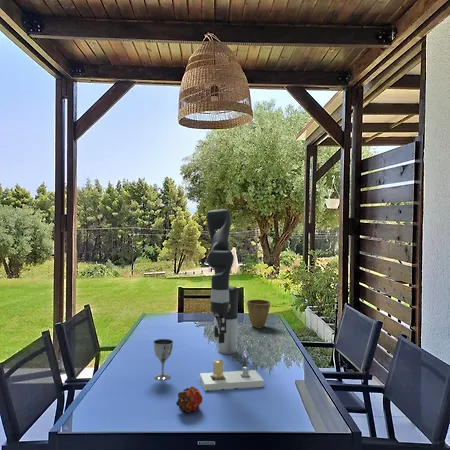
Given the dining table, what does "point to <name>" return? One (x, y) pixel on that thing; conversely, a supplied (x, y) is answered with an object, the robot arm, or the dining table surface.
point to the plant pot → (258, 312)
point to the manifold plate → (231, 380)
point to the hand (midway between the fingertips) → (219, 339)
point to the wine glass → (163, 355)
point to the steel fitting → (245, 372)
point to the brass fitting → (217, 370)
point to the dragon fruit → (189, 399)
